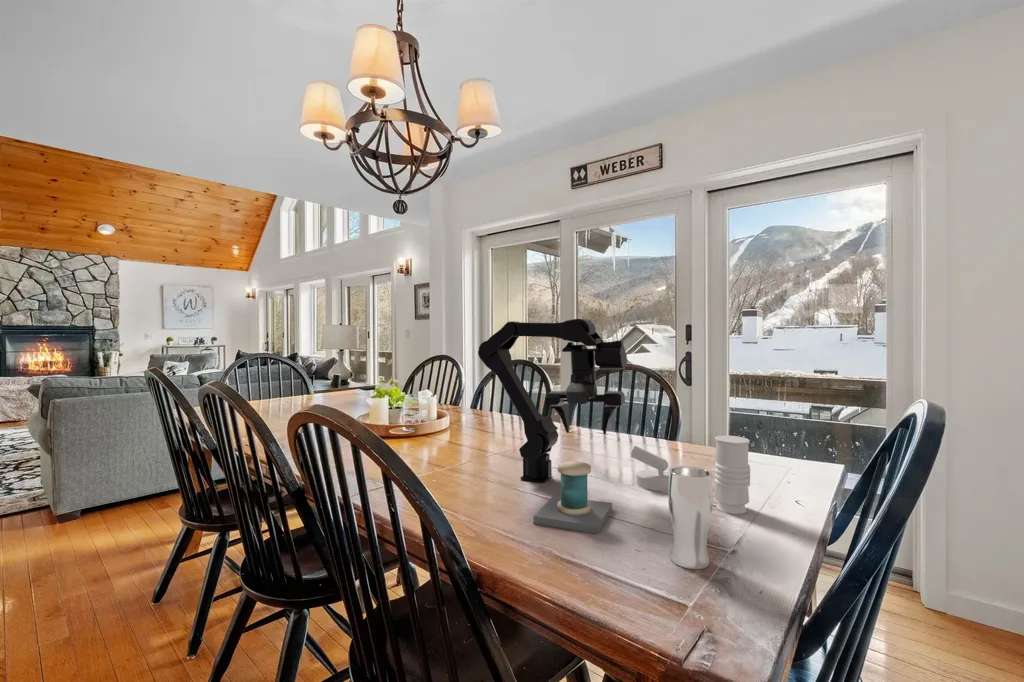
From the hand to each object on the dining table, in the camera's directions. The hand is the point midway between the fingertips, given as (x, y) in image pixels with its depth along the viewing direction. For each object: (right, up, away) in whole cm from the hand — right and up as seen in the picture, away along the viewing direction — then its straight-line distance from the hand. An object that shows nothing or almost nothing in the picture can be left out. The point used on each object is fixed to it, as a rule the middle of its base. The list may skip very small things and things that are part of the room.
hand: (586, 433), depth 120 cm
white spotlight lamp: (+16, -13, +1) cm, 21 cm away
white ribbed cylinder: (+29, -13, -15) cm, 35 cm away
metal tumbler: (+11, -14, -38) cm, 42 cm away
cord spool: (-5, -12, -19) cm, 23 cm away
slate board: (-5, -14, -19) cm, 24 cm away
